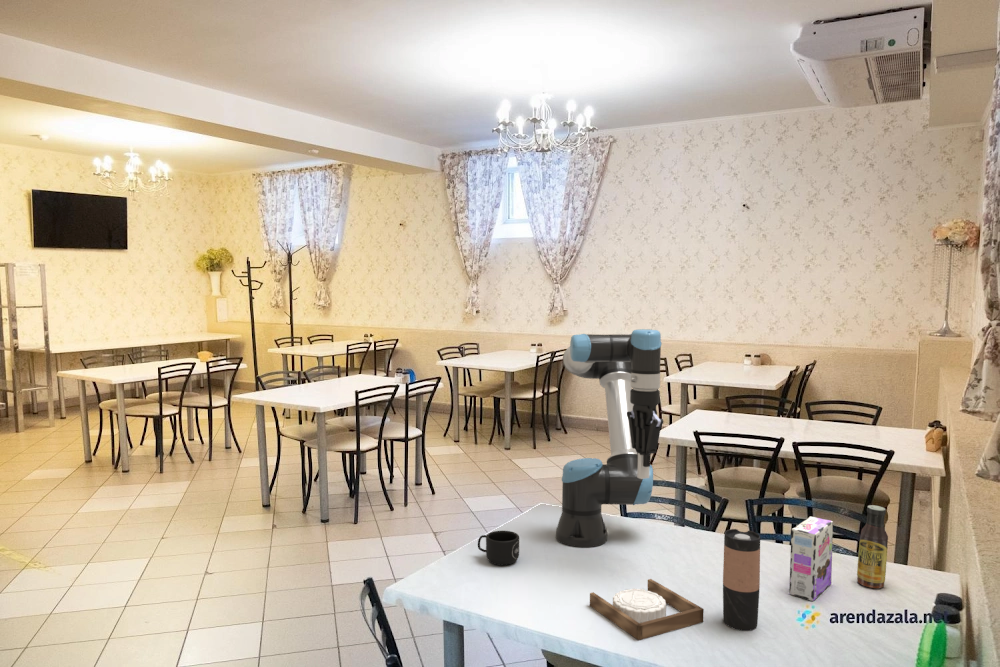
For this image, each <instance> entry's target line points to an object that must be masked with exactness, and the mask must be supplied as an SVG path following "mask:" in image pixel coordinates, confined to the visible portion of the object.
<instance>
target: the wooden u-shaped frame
mask: <svg viewBox="0 0 1000 667" xmlns="http://www.w3.org/2000/svg"><path fill="white" fill-rule="evenodd" d="M647 591H651V592H654V593H656V594H658V595H659V596H662V597H663V599H664V600H665V601H666V605H669V606H671V607H673V608H674V609H676V610H678V611H679V612H677V613H673V614H669V615H666V616H665V617H661V618H658V619H654V620H650V621H647V622H643V623H638V622H637V621H635V620H634V619H632V618H631V617H629V616H628V615H626V614H625V613H623V612H622V611H620V610H619V609H617V608H616V607H614V606H613V603H612V604H611V603H610V602H609V601H607V600H606V599H604V598H603V597H601V596H600V595H599V594H597V593H595V592H589V606H590V607H591V608H593V609H594V610H595V611H597V612H598V613H599V614H601V615H602V616H604V617H605V618H606V619H608V620H609V621H610V622H612V623H614V624H615V625H616V626H618V627H619V629H620V628H621V629H622V630H623V631H625V632H626V633H627V634H629V635H630V636H631V637H633V638H634V639H635V640H637V641H641V640H645V639H648V638H653V637H655V636H659V635H663V634H665V633H670V632H673V631H677V630H679V629H684V628H687V627H690V626H694V625H698V624H701V623H703V622H704V614H705V613H704V610H705V609H704V608H703V607H701V606H699V605H697V604H695V603H694V602H692V601H691V600H688V599H687V598H686V597H684V596H683V595H680V594H678V593H676V592H675V591H673V590H671V589H669V588H668V587H666V586H664V585H662V584H660V583H659V582H657V581H655V580H653V579H652V578H649V579H647Z"/></svg>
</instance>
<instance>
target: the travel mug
mask: <svg viewBox="0 0 1000 667" xmlns="http://www.w3.org/2000/svg"><path fill="white" fill-rule="evenodd" d="M723 536H724V540H723V542H724V543H723V544H724V545H723V568H722V570H723V572H722V611H723V612H722V617H723V619H722V621H723V622H724V624H725V625H726V626H727V627H729V628H731V629H734V630H737V631H747V632H748V631H753V630H755V629H757V627H758V621H759V603H760V602H759V601H760V588H761V587H760V585H761V583H760V581H761V579H760V578H761V577H760V576H761V575H760V574H761V573H760V572H761V536H760V534H758V533H757V532H755V531H752V530H747V531H740V530H739V529H737V528H730V529H727V530H726V531H724V535H723Z"/></svg>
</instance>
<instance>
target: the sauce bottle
mask: <svg viewBox="0 0 1000 667" xmlns="http://www.w3.org/2000/svg"><path fill="white" fill-rule="evenodd" d="M866 512H867V518H866V523H865V524H864V526H863V527H862V528H861V531H860V537H859V545H858V546H859V547H858V558H857V571H856V572H857V573H856V575H857V576H856V578H857V579H856V581H857V583H858V584H859V585H861V586H863V587H865V588H871V589H875V590H879V589H881V588H884V586H885V582H886V572H887V559H888V558H887V557H888V542H889V535H888V533H887V532H886V529H885V515H886V513H887V512H886V508H885V507H883V506H879V505H874V504H872V505H871V504H869V505H867V508H866Z"/></svg>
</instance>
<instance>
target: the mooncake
mask: <svg viewBox="0 0 1000 667" xmlns="http://www.w3.org/2000/svg"><path fill="white" fill-rule="evenodd" d="M612 605H613V606H614V607H616V608H617V609H619V610H620V611H622V612H623V613H625V614H626V615H628V616H629V617H631V618H632V619H634V620H635V621H637V622H638V623H643V622H647V621H650V620H654V619H658V618H661V617H665V616H667V603H666V601H665V600H664V599H663V597H662V596H659V595H658V594H656V593H654V592H651V591H648V590H647V589H646V590H645V589H643V588H631V589H625V590H619V591H618V592H617V593H615V594H614V595H613V597H612Z"/></svg>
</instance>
